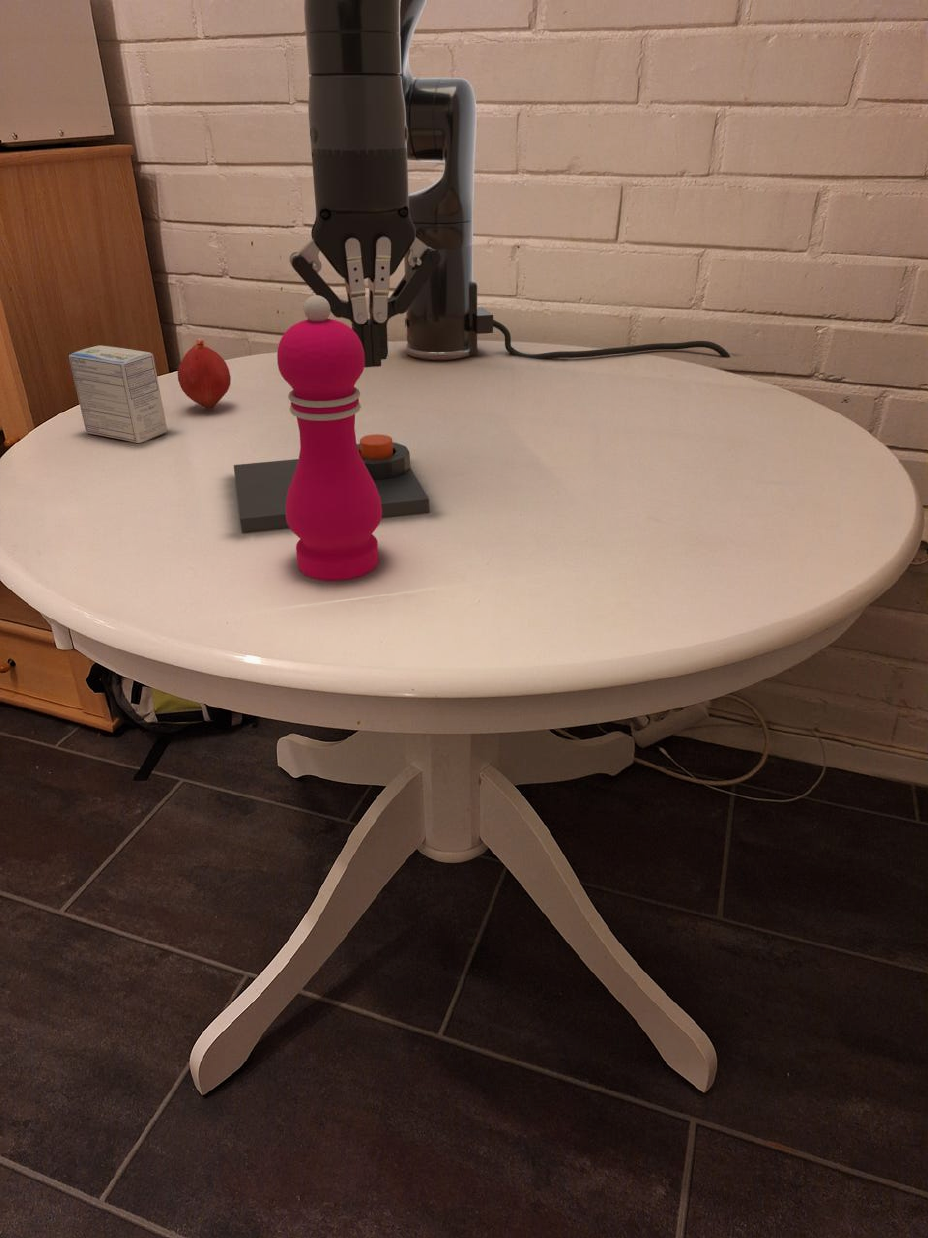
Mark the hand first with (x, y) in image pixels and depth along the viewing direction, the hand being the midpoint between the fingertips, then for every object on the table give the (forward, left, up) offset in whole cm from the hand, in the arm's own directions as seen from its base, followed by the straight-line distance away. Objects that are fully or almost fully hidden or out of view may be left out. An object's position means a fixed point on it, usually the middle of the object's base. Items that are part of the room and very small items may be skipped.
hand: (371, 364), depth 80 cm
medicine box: (+24, -21, -11) cm, 34 cm away
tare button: (0, 0, -8) cm, 8 cm away
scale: (+5, +2, -11) cm, 12 cm away
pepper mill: (+6, +16, -11) cm, 20 cm away
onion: (+15, -28, -11) cm, 34 cm away
